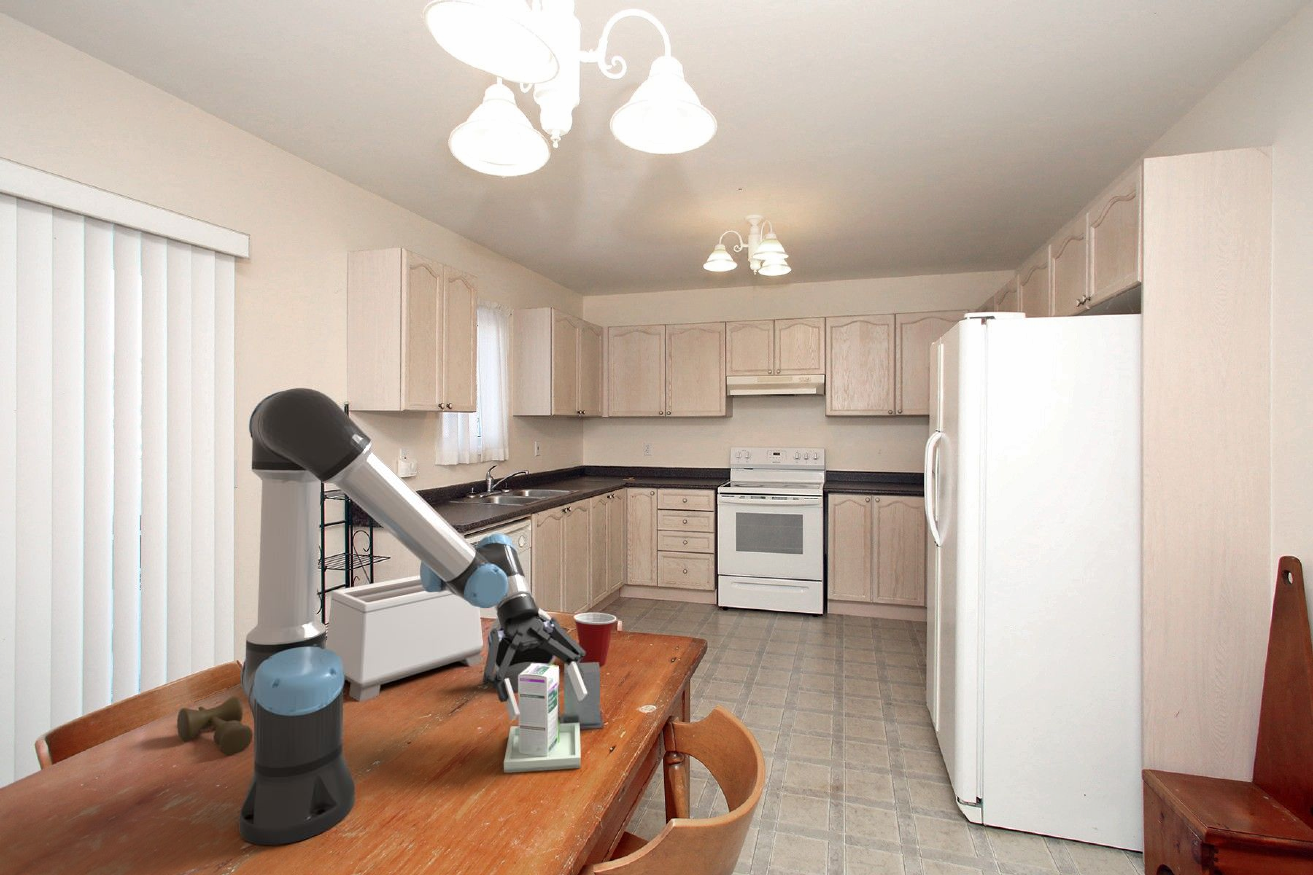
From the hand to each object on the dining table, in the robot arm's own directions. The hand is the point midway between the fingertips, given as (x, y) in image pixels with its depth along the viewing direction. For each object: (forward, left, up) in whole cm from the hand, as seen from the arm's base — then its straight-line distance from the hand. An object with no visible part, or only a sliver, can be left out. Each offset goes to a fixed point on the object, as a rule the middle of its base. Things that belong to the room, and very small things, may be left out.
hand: (550, 707), depth 111 cm
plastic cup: (+10, +44, -9) cm, 46 cm away
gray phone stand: (+6, +13, -9) cm, 16 cm away
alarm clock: (-7, +34, -9) cm, 36 cm away
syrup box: (-2, +2, -8) cm, 9 cm away
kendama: (-62, +15, -9) cm, 65 cm away
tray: (-1, +2, -9) cm, 9 cm away
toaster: (-35, +46, -9) cm, 58 cm away
